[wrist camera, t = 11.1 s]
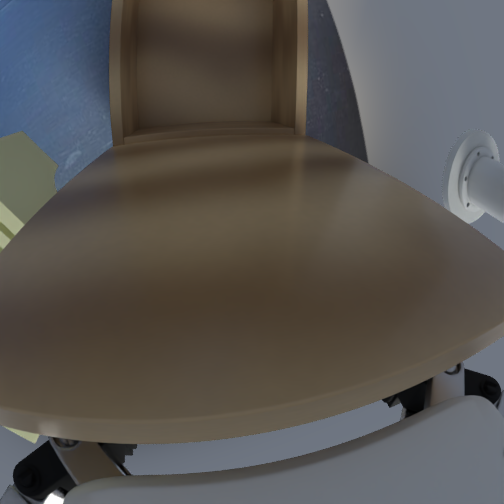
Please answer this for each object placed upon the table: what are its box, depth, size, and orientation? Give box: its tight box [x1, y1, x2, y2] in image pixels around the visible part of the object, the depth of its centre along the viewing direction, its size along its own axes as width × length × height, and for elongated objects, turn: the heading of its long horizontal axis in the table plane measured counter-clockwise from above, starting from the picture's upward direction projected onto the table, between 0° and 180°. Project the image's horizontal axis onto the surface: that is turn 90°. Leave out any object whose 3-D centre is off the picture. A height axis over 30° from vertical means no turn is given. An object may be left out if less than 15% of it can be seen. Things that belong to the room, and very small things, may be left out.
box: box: [109, 0, 308, 147], centre depth 19 cm, size 19×15×8 cm
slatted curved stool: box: [0, 131, 58, 443], centre depth 22 cm, size 30×16×18 cm, turn 130°
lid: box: [0, 135, 504, 444], centre depth 13 cm, size 20×15×5 cm
